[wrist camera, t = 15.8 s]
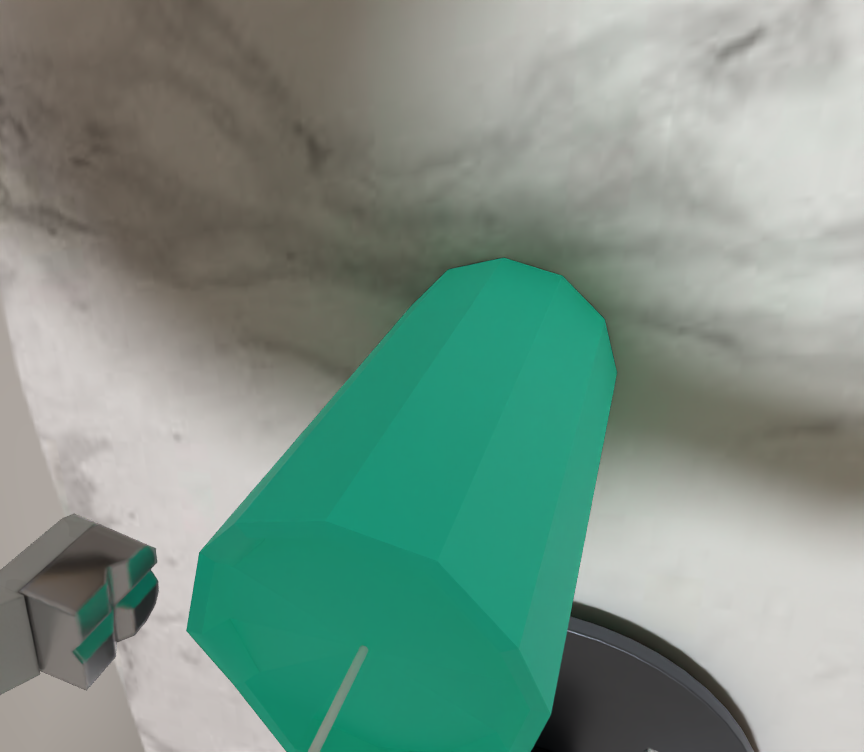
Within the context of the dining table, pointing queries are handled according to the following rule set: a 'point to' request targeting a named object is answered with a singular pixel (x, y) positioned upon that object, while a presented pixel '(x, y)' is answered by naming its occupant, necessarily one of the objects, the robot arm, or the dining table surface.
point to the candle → (422, 530)
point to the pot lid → (631, 701)
